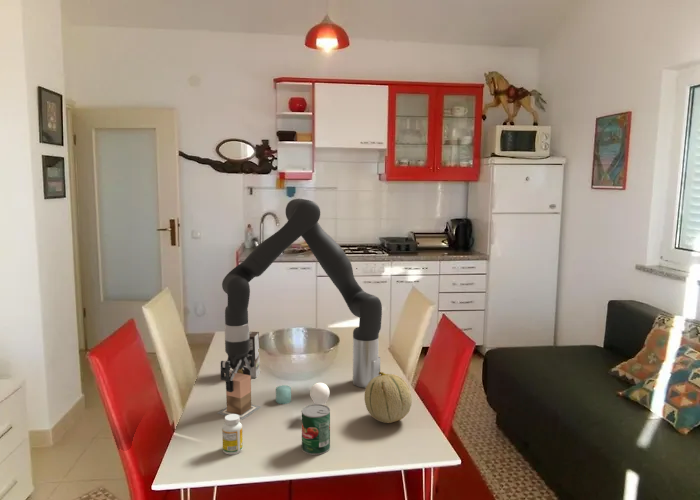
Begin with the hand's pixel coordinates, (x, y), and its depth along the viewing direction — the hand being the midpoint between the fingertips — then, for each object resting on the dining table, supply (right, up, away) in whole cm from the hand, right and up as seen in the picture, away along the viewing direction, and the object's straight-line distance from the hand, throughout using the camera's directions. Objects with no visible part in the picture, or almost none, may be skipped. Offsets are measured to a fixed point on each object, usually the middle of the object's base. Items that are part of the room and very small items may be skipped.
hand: (238, 386), depth 166 cm
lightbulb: (+26, -9, -2) cm, 28 cm away
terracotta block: (0, -2, 0) cm, 2 cm away
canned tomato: (+26, -12, -21) cm, 35 cm away
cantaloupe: (+47, -9, -4) cm, 48 cm away
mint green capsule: (+13, -8, +8) cm, 17 cm away
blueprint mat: (0, -8, +1) cm, 8 cm away
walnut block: (0, -8, +1) cm, 8 cm away
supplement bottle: (+3, -12, -22) cm, 25 cm away
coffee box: (-4, -4, +33) cm, 33 cm away
